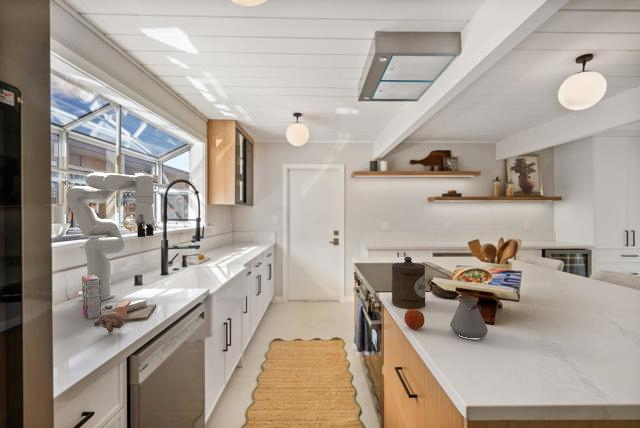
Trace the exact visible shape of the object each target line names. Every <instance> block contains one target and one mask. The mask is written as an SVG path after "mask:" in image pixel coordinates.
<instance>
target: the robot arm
mask: <svg viewBox="0 0 640 428" xmlns="http://www.w3.org/2000/svg"><path fill="white" fill-rule="evenodd" d="M85 184H86V185H87V186H73V187H71V188H69V189H68V190H67V192H66V195H65V199H66V203H67V206H68V207H69V210H70V211H71V213H72V214H73V215H74V217H75V220H76V222H77V224H78V227H79V229H80V232H81V234H82V235H83V236H84V237H86V238H89V239H87V240H86V241H85V243H84V252H85V257H86V264H87V265H86V268H87V269H86V270H87V273H86V274H87V275H86V276H90V275H96V276H97V277H98V278H100V294H101V301H105V300H109V299H112V298H114V297H115V293H113V292H111V291H112V289H111V285H112V283H111V281H112V280H111V277H112V276H111V275H112V274H111V261H110V260H109V258H108V257H107V256H106V255H114V254H119V253H122V252H123V251H124V249H125V241H124V239H123V238H124V237H123V235H122V233H121V230H120V229H119V226H118V225H117V223H116V222H115V220H112V219H109V218H108V219H107V218H103V219H102V218H99V217H98V216H97V213H96V211H95V209H94V208H92V207H91V206H89V205H88V204H103V203H104V204H105V203H107V202H108V201H109V200H110V198H112V196H113V195H114V194H115V193H116V191H124V192H134V193H135V209H134V210H135V211H134V212H135V213H134V223H135V225H136V232H137V238H145V237H153V236H154V218H155V217H154V207H153V205H154V203H155V201H154V200H155V198H154V197H155V196H154V195H155V193H154V178H153V176H152V175H149V174H137V175H129V174H119V173H106V172H105V173H104V172H93V173H90V174H87V176H86V177H85ZM77 296H78V297H82V291H79V292H78V293H77Z"/></svg>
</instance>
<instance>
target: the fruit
mask: <svg viewBox="0 0 640 428" xmlns="http://www.w3.org/2000/svg"><path fill="white" fill-rule="evenodd" d="M403 319H404V323H405V325H406V326H407V327H408V328H410V329H411V330H414V329H415V331H417V330H419V329H421V328H422V327H423V326H424V325H425V315H424V313H423V312H422V311H421V310H419V309H407V310H406V312H405V313H404V318H403Z"/></svg>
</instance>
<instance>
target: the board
mask: <svg viewBox="0 0 640 428" xmlns="http://www.w3.org/2000/svg"><path fill="white" fill-rule="evenodd" d="M156 307H157V303H154V304H153V303H152V304H147V306H144V307H141V308H137V309H134V310H131V311H127V317H126V318H124V323H129V322H130V323H131V322H138V321H146V320H148V319H149V318H150V316H151V315H152V313H153V312H154V311H155V309H156ZM93 322H94V323H93V326H94V327H95V326H102V325H101V324H100V323H99V318H98V319H97V320H95V321H93Z"/></svg>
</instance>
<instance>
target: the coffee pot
mask: <svg viewBox="0 0 640 428" xmlns="http://www.w3.org/2000/svg"><path fill="white" fill-rule="evenodd" d="M456 299H457V300H458V302H459V304H458V306H457V309H456V311H455V313H454V315H453V316H452V318H451V319H452V320H451V321H450V323H449V326H450V328H451V330H452V331H453V333H455V334H456V335H457V334H458V335H460V336H463V337H467V338H481V337H482V338H484V337H485V336H486V335H487V333H488V327H487V325H486V322H485V320H484V318H483V316H482V314H481V312H480V311H481V308H480V306H479V305H478V302H479V299H480V298H478V297H476V296H473V295H472V296H471V295H465V294H464V295H458V296H456ZM478 307H479V308H478ZM458 335H457V336H458ZM482 338H481V339H482Z"/></svg>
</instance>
